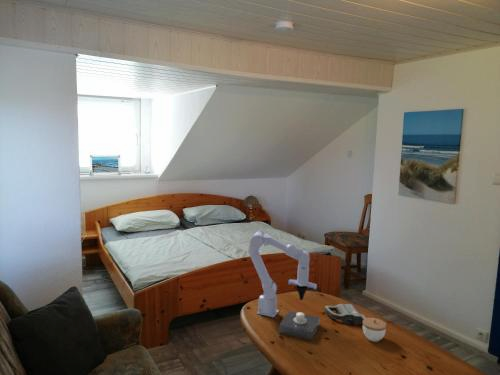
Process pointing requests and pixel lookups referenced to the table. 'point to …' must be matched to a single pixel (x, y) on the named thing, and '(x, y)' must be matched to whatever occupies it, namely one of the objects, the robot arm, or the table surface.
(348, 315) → the portable electronic device
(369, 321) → the lidded jar
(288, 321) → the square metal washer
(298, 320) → the flanged cylindrical plug
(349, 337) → the table surface
